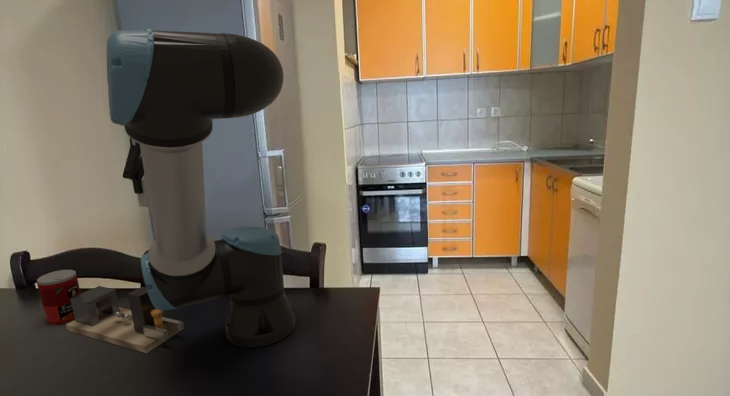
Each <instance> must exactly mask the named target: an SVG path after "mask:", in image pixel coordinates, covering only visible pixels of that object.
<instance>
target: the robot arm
mask: <svg viewBox="0 0 730 396" xmlns="http://www.w3.org/2000/svg"><path fill="white" fill-rule="evenodd" d="M279 59H280V58H278V56H277V55H276V54H275V52H274V51H273V50H271V48H270V47H268V46H266V45H265V44H264V43H262V42H260V41H258V40H256V39H253V38H250V37H248V36H244V35H239V34H236V33H235V34H234V33H223V32H221V33H218V32H217V33H213V32H198V31H197V32H196V31H194V32H193V31H175V30H173V31H172V30H171V31H170V30H155V29H154V30H153V29H151V28H144V29H134V30H133V29H132V30H130V29H126V30H125V29H123V30H115V31H114V32H112V33H111V34H110V35H109V37H107V41H106V75H107V76H106V78H107V87H108V90H107V91H108V92H107V95H108V107H109V108H108V109H109V117H110V118H109V119H110V121H111V123H113V124H115V125H118V126H123V127H124V131H125V133H126V135H127V136H128V137H129V150H128V153H127V157H126V161H125V165H124V168H123V173H122V178H123V179H127V180H131V182H132V187H133V192H134V193H135V194H136V195H137V199H138V204H139V205H138V206H139V207H142V208H143V207H144V208H149V210H150V216H151V221H152V222H151V223H152V227H153V228H152V229H153V233H154V234H153V235H154V241H152V243H151V244H150V247H149V249H148V252H146V253H145V254H143V255H142V256H141V257H140V267H141V273H142V278H143V281H144V285H145V287H146V288H147V292H148V295H149V298H150V300H151V302H152V304H153V306H154V307H155V308H156V309H157V310H160V311H163V312H166V311H170V310H179V309H181V308H185V307H188V306H191V305H195V304H199V303H203V302H207V301H211V300H215V299H218V298H221V297H226V296H229V298H230V302H229V303H230V304H229V308H228V311H227V318H226V322H225V326H224V327H225V334H226V336H225V337H226V339H227V340H228V341H229V342H230V344H232V345H235V346H237V347H241V348H260V347H266V346H270V345H272V344H275V343H276V344H277V343H278V342H279V341H280V342H281V341H282V340H284V339H286V337H288V336H289V335H291V333H292V332H293V331H294V330H295V327H296V317H295V312H294V310H293V308H292V307H291V304H290V302H289V300H288V297H287V295H286V292H285V281H284V270H283V261H282V259H283V258H282V254H283V252H282V248H281V241H280V238H279V235H278V234H277V233H276V232H275V231H274V230H271V229H270V228H265V227H260V226H236V227H231V228H229V229H225V230H224V231H223V232H222V234H221V239H217V240H214V239H213V238H212V237H211V236H210V235H209V234H207V215H206V214H207V213H206V195H205V194H206V193H205V173H204V172H205V171H204V151H203V150H204V149H203V148H204V147H203V142H204V141H206V140H207V139H209V137H210V136H211V134H212V132H213V127H214V126H213V124H214V123H213V120H218V119H219V120H222V119H233V118H234V119H235V118H242V117H247V116H251V115H254V114H256V113H259V112H261V111H263V110H264V109H266V108H267V107H268V106H270V105H271V104H273V103H274V101H276V99H277V97H278V96H279V95H280V93H281V90H282V89H283V84H284V70H283V66H282V64H281V61H280V60H279Z"/></svg>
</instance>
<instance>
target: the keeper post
mask: <svg viewBox="0 0 730 396" xmlns="http://www.w3.org/2000/svg"><path fill="white" fill-rule="evenodd" d="M163 313H164V311H160V310H157V309H154V310H152V311H151V316H152V317H153V318H154V324H155V327H158V328H162V329H164V326H163V321H162V317H163V316H162V315H163Z"/></svg>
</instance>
